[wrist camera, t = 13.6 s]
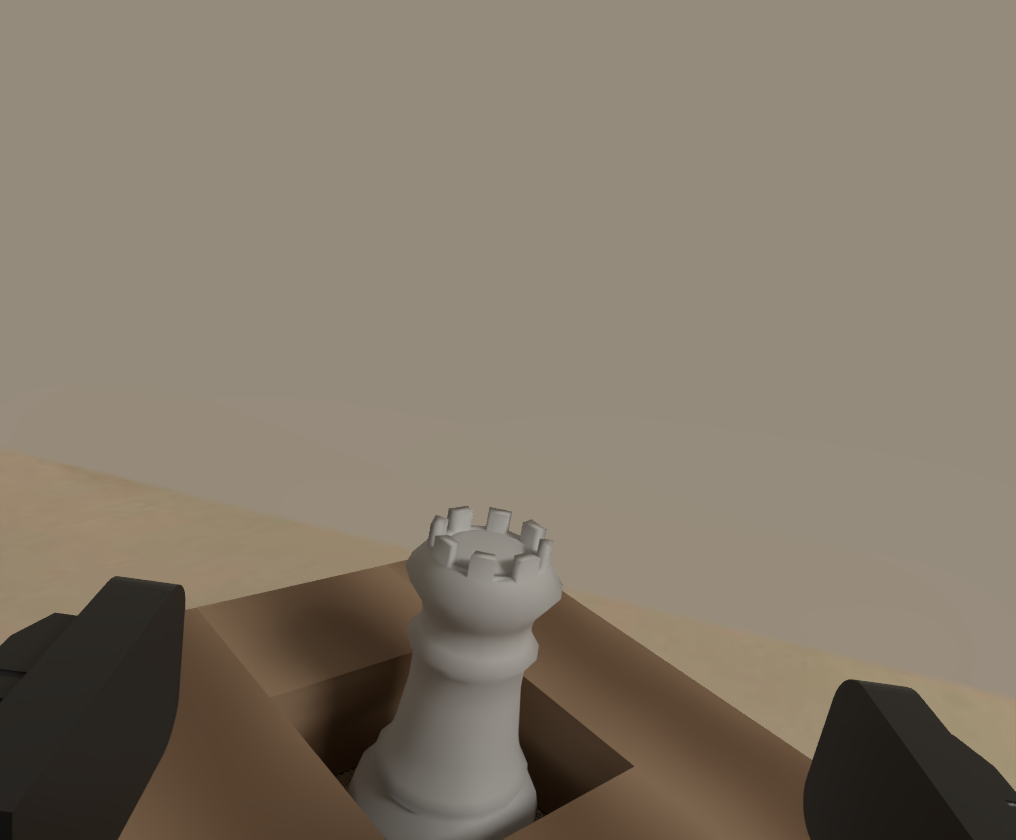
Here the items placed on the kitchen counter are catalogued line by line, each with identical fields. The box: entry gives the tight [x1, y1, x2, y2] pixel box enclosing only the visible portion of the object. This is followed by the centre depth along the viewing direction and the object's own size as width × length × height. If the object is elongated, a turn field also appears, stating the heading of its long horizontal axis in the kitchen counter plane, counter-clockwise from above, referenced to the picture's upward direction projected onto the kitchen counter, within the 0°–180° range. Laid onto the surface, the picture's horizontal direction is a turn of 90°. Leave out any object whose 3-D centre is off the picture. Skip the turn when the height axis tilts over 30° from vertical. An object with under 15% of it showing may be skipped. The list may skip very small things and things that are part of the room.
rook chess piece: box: [347, 506, 563, 840], centre depth 18 cm, size 4×4×8 cm
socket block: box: [118, 560, 812, 840], centre depth 19 cm, size 14×14×3 cm
